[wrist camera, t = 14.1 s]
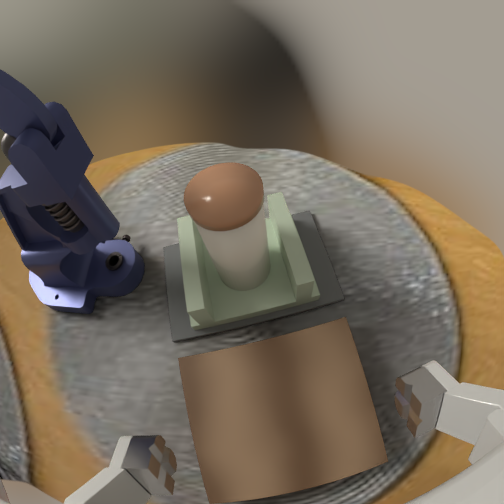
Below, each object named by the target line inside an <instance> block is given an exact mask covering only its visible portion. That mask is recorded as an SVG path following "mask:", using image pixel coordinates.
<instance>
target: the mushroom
mask: <svg viewBox="0 0 504 504" xmlns="http://www.w3.org/2000/svg"><path fill="white" fill-rule="evenodd" d="M263 202H264V190H263V183H262V180H261V177H260V176H259V174H258V173H257V172H256V171H255V170H253V169H252V168H250V167H249V166H246V165H243V164H239V163H221V164H216V165H213V166H210V167H208V168H206V169H204V170H202V171H201V172H199V173H198V174H197V175H195V176H194V177H193V178H192V179H191V181H190V182H189V183H188V185H187V187H186V189H185V192H184V204H185V206H186V209H187V211H188V213H189V215H190V217H191V219H192V220H193V221H194V222H195V224H196V226H197V229H198V231H199V233H200V235H201V237H202V240H203V242H204V244H205V246H206V248H207V251H208V253H209V255H210V257H211V259H212V261H213V263H214V266H215V268H216V270H217V272H218V274H219V276H220V278H221V280H222V281H223V283H224V284H225V285H226V286H228V287H229V288H231V289H234V290H238V291H247V290H251V289H254V288H256V287H258V286H260V285H261V284H262V283H263V282H264V281H265V280H266V279H267V277H268V275H269V273H270V267H271V265H270V255H269V247H268V238H267V230H266V221H265V213H264V205H263Z"/></svg>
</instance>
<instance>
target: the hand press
mask: <svg viewBox="0 0 504 504" xmlns="http://www.w3.org/2000/svg"><path fill="white" fill-rule="evenodd" d="M0 129H1V130H3V131H4V132H5V135H4V137H3V139H2V142H1V148H2V151H3V153H4V154H5V156H6V157H7V158H8V160H9V161H10V162H11V164H12V165H9V166H8V168H7V169H6V171H5V173H4V174H3V176H2V177H1V179H0V210H1V212H2V214H3V216H4V218H5V220H6V222H7V224H8V226H9V227H10V229H11V231H12V233H13V235H14V237H15V238H16V240H17V242H18V244H19V245H20V247H21V249H22V253H21V258H22V261H23V263H24V265H25V266H26V267H27V268H28V269H29V270H30V273H29V280H30V284H31V286H32V288H33V290H34V291H35V293H36V295H37V296H38V298H39V300H40V301H41V302H43V303H44V304H45V305H47V306H49V307H50V308H52V309H54V310H57V311H63V312H74V313H85V314H90V313H92V312H93V309H94V304H95V300H96V298H97V297H98V296H114V297H118V296H124V295H126V294H128V293H130V292H132V291H133V290H134V289H135V288H136V287H137V286H138V285H139V283H140V282H141V280H142V277H143V275H144V266H145V265H144V262H143V259H142V258H141V256H140V255H139V254H138V253H137V251H136V250H135V249H134V248H133V247H132V245H131V244H130V243H129V241H130V236H128V235H124V236H123V240H111V239H113V238H114V237H115V236H116V235H117V233H118V230H119V225H120V223H119V222H118V220H117V219H116V218H115V216H114V215H113V214H112V212H111V211H110V210H109V208H108V207H107V206H106V204H105V203H104V202H103V200H102V199H101V197H100V196H99V195H98V193H97V192H96V190H95V189H94V188H93V186H92V185H91V183H90V182H89V181H88V179H87V178H86V176H85V175H84V173H85V171H86V169H87V167H88V165H89V163H90V161H91V159H92V158H93V156H94V155H93V154H92V152H91V151H90V149H89V147H88V146H87V144H86V143H85V141H84V139H83V137H82V135H81V134H80V132H79V130H78V129H77V127H76V125H75V123H74V122H73V120H72V118H71V117H70V115H69V113H68V111H67V110H66V109H65V108H64V107H63V105H62V104H59V103H56V102H49V103H46V104H45V105H44V104H43V103H42V102H41V101H40V100H39V99H38V98H37V97H36V96H35V95H34V94H33V93H32V92H31V91H30V90H29V89H27V88H26V87H25V86H24V85H23V84H21V83H20V82H19V81H17V80H16V79H14V78H13V77H11V76H10V75H9V74H7V73H6V72H4V71H2V70H0Z"/></svg>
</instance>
